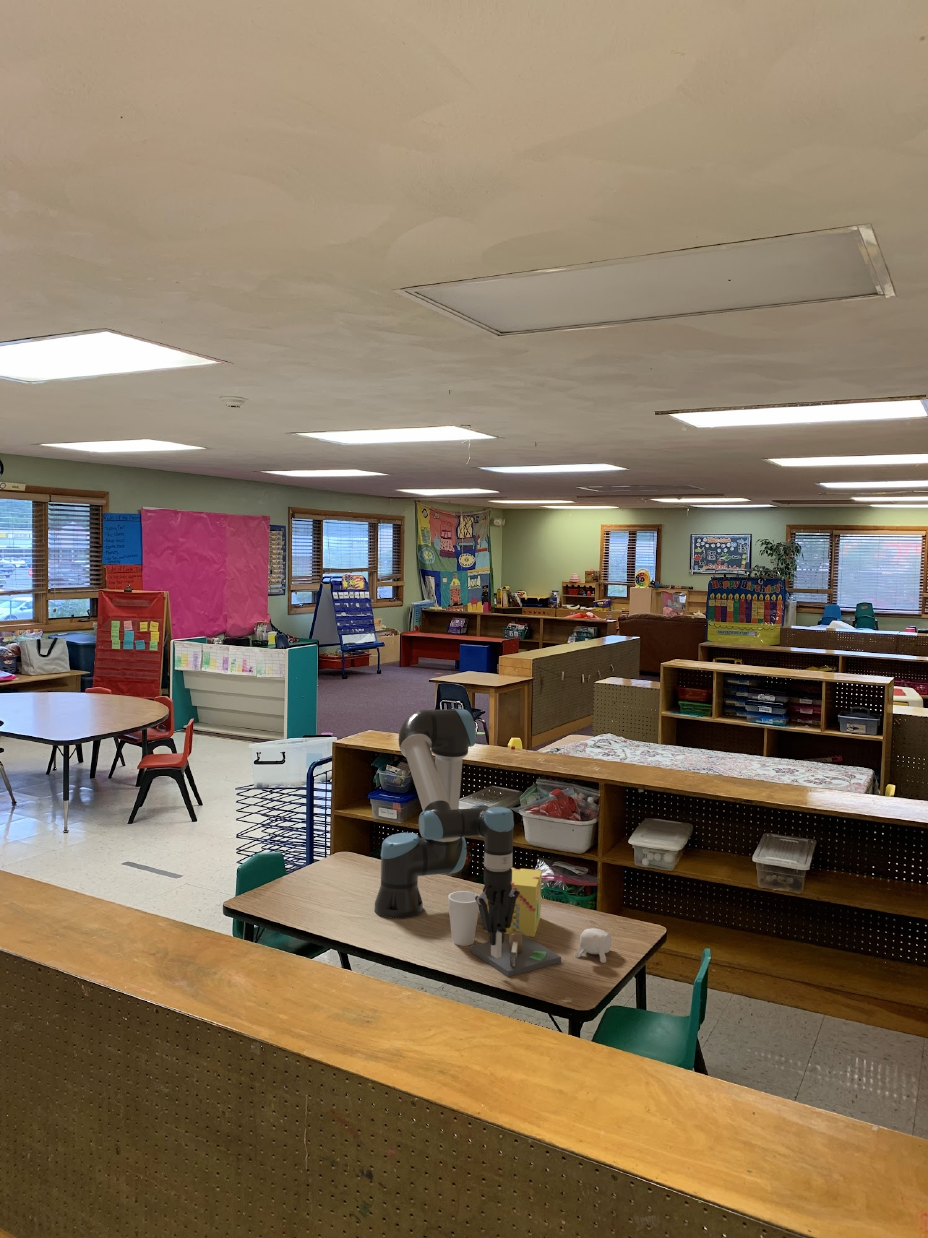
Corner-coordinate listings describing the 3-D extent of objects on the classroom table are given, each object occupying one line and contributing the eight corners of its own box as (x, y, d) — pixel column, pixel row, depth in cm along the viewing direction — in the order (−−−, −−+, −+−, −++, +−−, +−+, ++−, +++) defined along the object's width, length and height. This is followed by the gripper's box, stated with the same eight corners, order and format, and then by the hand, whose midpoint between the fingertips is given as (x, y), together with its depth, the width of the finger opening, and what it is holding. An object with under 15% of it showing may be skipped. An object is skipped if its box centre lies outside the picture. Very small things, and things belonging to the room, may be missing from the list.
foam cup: (459, 950, 242) (460, 905, 241) (440, 939, 249) (441, 895, 249) (485, 943, 248) (487, 898, 247) (466, 932, 255) (468, 889, 255)
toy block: (534, 937, 253) (536, 886, 252) (484, 931, 256) (485, 882, 255) (540, 918, 268) (541, 870, 267) (492, 913, 271) (494, 866, 270)
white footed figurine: (583, 957, 247) (568, 957, 234) (587, 926, 249) (573, 924, 237) (612, 963, 243) (599, 963, 230) (616, 932, 246) (603, 930, 233)
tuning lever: (509, 947, 241) (510, 930, 241) (522, 948, 240) (522, 931, 240) (506, 966, 229) (506, 948, 228) (519, 967, 228) (520, 949, 228)
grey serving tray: (470, 951, 242) (470, 945, 241) (522, 938, 251) (522, 933, 251) (507, 977, 226) (508, 970, 226) (561, 962, 236) (561, 956, 236)
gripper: (485, 875, 220) (483, 966, 221) (526, 867, 227) (524, 956, 228) (469, 867, 226) (467, 956, 227) (509, 860, 233) (507, 946, 234)
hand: (496, 956), depth 227 cm, fingers closed
